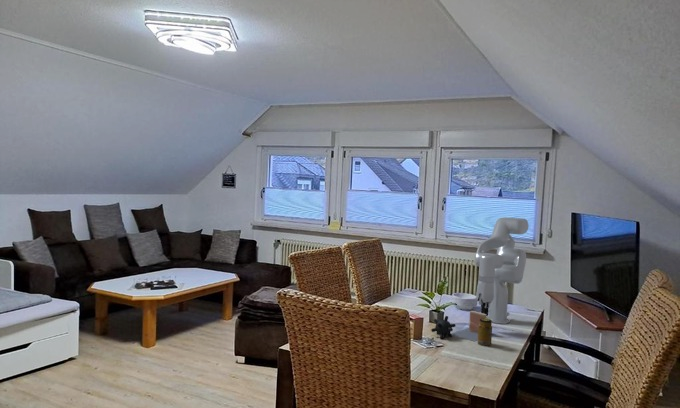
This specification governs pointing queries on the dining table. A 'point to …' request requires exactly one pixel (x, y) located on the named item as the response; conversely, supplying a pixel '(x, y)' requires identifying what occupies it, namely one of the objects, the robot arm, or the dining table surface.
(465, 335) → the rubber mat
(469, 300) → the paper bowls
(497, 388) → the dining table surface
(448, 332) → the toy ball
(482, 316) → the birch tile
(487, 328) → the condiment
